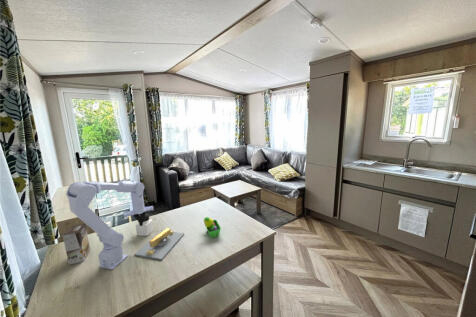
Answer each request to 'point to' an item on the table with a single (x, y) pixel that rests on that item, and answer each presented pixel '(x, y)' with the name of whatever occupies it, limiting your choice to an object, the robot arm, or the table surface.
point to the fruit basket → (212, 227)
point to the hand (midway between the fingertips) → (141, 225)
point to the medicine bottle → (145, 226)
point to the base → (160, 247)
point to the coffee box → (76, 243)
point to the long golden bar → (160, 238)
